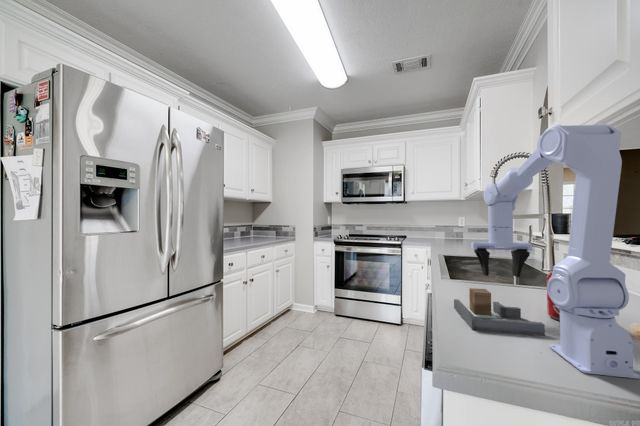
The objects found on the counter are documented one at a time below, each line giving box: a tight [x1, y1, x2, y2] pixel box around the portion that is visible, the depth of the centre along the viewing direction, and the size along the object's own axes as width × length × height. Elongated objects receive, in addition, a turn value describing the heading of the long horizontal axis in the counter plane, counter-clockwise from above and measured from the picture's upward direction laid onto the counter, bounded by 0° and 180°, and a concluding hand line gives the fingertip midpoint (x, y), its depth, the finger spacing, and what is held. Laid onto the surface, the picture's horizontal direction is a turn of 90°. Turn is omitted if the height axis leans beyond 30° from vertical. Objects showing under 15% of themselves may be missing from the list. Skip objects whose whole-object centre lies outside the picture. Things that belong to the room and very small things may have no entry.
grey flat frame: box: [453, 298, 546, 337], centre depth 68 cm, size 15×15×2 cm
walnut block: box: [468, 287, 492, 316], centre depth 73 cm, size 4×4×6 cm
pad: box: [466, 307, 498, 319], centre depth 72 cm, size 6×6×1 cm
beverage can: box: [546, 270, 560, 321], centre depth 69 cm, size 6×6×12 cm
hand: (500, 275), depth 75 cm, fingers open, 7 cm apart
